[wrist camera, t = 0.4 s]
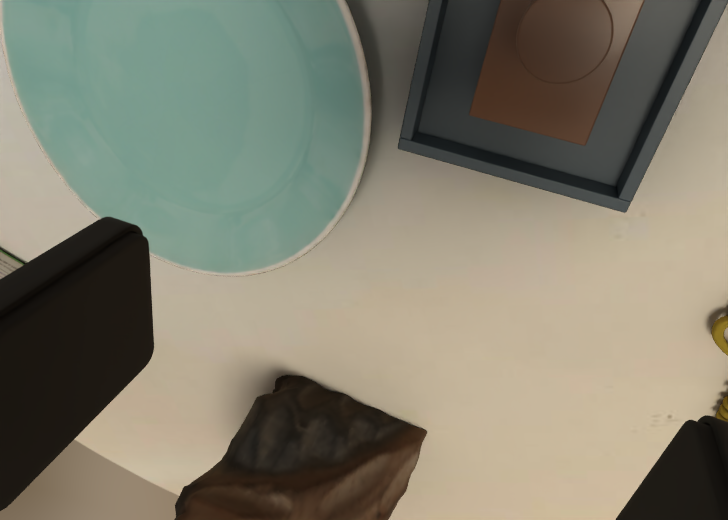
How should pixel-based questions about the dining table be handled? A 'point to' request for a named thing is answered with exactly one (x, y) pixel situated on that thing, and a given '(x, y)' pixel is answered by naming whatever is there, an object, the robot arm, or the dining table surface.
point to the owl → (307, 461)
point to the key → (718, 328)
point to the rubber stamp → (553, 64)
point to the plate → (199, 119)
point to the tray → (543, 153)
